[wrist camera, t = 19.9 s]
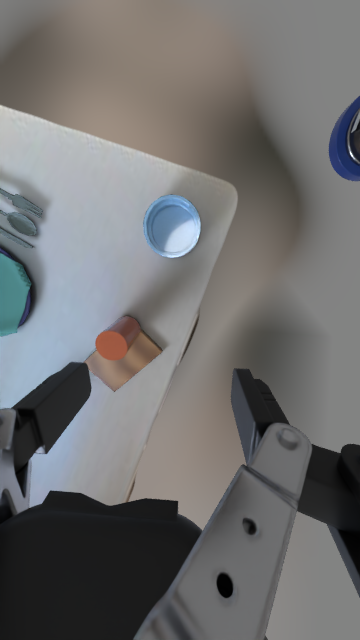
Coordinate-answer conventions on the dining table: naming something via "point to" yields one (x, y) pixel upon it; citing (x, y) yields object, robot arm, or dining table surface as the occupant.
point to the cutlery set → (15, 270)
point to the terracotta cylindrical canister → (118, 338)
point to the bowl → (172, 226)
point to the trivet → (124, 362)
